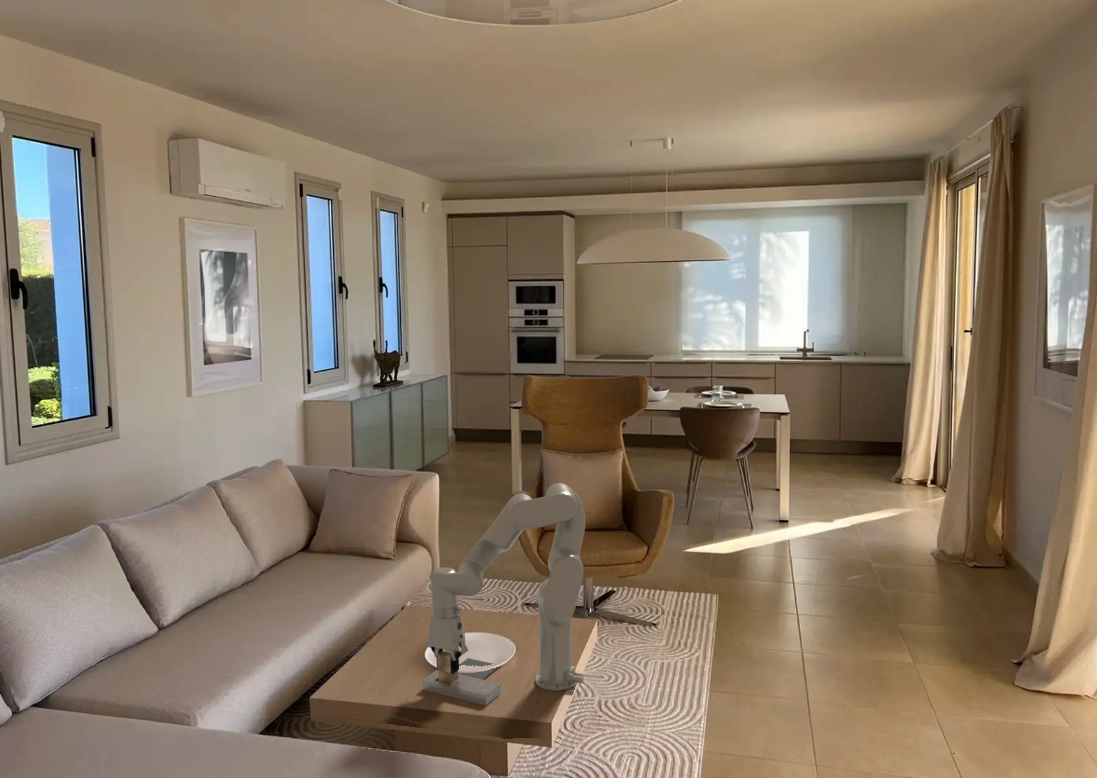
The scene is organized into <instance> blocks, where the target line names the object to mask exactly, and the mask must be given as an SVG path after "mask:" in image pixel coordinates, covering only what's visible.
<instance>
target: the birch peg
mask: <svg viewBox="0 0 1097 778" xmlns="http://www.w3.org/2000/svg"><path fill="white" fill-rule="evenodd" d="M455 655H456V653H455ZM437 658H438V679H439V682H442V683H447V684H450V683H452V682H453V681H454V680H456V679H457V678H458V671H457V672H455V673H454V674H452V673H451V660H452V657H451V652H450V650H445V649H443V651H442V652H440V653H439V654H438V655H437Z"/></svg>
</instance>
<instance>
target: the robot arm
mask: <svg viewBox="0 0 1097 778" xmlns="http://www.w3.org/2000/svg"><path fill="white" fill-rule="evenodd" d="M586 524H587V523H586V513H585V508H584V505H583V503H582V500H581V498H580V497H579V495H578V494H577V493H576V491H574V490H573V488H571V486H569V485H567V484H566V483H562V482H557V483H553V484H551V485H550V486H549V487H548V488H547V490H546V492H545V495H544V496H542V497H537V498H532V497H531V496H530V495H528V494H525V493H516V494H514V495H513V496H512V497H511V498H510V499H509V500H508V501H507V503H506V504H505V506H504V507H503V508H502V510H501V511H500V513H499V514H498V516H496V518H495V519H494V521H493V522H492V524H491V525H490V527H489V528H488V529H487V530H486V531H485V533H484V534H483V535H482V536H481V537H480V538H479V540H477V542H476V543H475V544H474V545H473V546H472V547H471V549H470V550H469V551H468V553H466V555H465V557H464V558H463V559H462V561H461V563H460V564H459V566H458V568H457V571H456V570H455V569H454V568H451V567H447V566H446V567H445V566H444V567H437V568H435V569H434V570H432V571H431V573H430V591H431V593H430V594H431V609H432V612H431V613H432V614H430V621H429V633H428V636H429V638H428V640H427V641H426V646H427V647H428V648H430V650H431V651H432V653H433V654H434V657H435V658H436V668H437V669H436V670H438V658H437V655H438V654H439V653H440V652H442V651H443V650H450V652H451V657H452V660H451V673H452V674H454V673H455V672H457V671H458V670H459V664H460V658H461V657H462V656H463V655H464V654H466V653H467V652H469V649H468V647H467V645H466V634H465V625H464V621H463V617H462V614H461V613H462V609H460V608H459V599H458V598H459V597H458V596H462V597H475V596H476V595H478V594H480V592H482V590H483V587H484V578H483V577H484V576H483V575H484V574H485V572H486V570H487V569H489V566H491V564H492V563H493V561H494V560H495V558H496V557H498V556H499V555H500V554H503V553H507V552H508V551H509V550H511V548H512V547H513V545H514V544H515V542H516V541H517V540H518V538H519V537H520V535H521V534H522V533H523V531H527V530H534V529H538V528H539V529H540V528H543V527H547V526H553V525H556V526H555V531H554V536H553V541H552V544H551V549H550V551H549V555H548V558H547V564H548V565H547V566H548V569H549V575H548V578H547V579H545V580H543V582H541V584H540V586H539V589H538V593H537V603H538V618H539V619H538V622H539V669H540V670H539V673H537V674H536V676H535V679H534V682H535V685H536V686H537V687H538V688H541V689H542V690H546V691H551V692H560V691H566V690H570V689H571V688H572V689H573V687H575V686H576V685H577V684H583V683H584V674H583V673H580V672H577V671H576V666H575V665H573V662H572V661H573V657H572V655H573V653H572V652H573V651H572V649H573V647H572V645H573V644H572V616H573V614H574V612H575V610H576V606H577V603H578V599H579V597H580V596H579V595H580V592H581V587H582V582H583V578H584V564H583V561H582V559H581V552H582V551H581V550H582V546H583V541H584V535H585V532H586V531H585V530H586ZM455 653H456V655H455Z"/></svg>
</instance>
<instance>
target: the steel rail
mask: <svg viewBox="0 0 1097 778" xmlns="http://www.w3.org/2000/svg"><path fill="white" fill-rule="evenodd" d="M421 684H422V690H423V691H426V692H431V693H433V694H438V695H442V696H446V697H450V698H453V699H457V700H463V701H466V702H469V703H474V704H479V705H483V706H488V705H489V704H490V703H491V702H492V701H493V700H495V699H496V698H497V697H499V696H500V695H501V693H502V692H501V691H502V690H501V689H502V688H501V685H502V684H501V683H499V682H495V681H491V680H487V679H485V680H482V679H478V678H474V677H469V676H465V675H461V674H458V678H457V679H456V680H454V681H453V682H452V683H450V684H447V683H442V682H439V679H438V670H437V669H436V670H434V671H433V672H432V673H430V674H429V675H428V676H426V677H425V678H423V679H422V683H421Z"/></svg>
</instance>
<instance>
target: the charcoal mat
mask: <svg viewBox="0 0 1097 778" xmlns="http://www.w3.org/2000/svg"><path fill="white" fill-rule="evenodd" d="M491 664H494V663H492V662H488V661H487V662H486V661H484V660H483V661H482V660H478V659H474V658H469V657H467V658H466V659H465V660H463V661H462V662H461V663H460V662H459V666H461V665H466V666H469V665H470V666H472V665H473V666H474V667H475V665H476V666H481V667H482V666H485V665H487V666H488V665H491ZM498 668H499V667H496V668H492V669H490V670H488V671H484V672H477V673H458V674H461V675H465V676H469V677H474V678H478V679H482V680H487V679H488V678H489V677H490V676H491V675H492V674H494V673H495V672H496V671H497V670H499V669H500V668H499V669H498Z"/></svg>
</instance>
